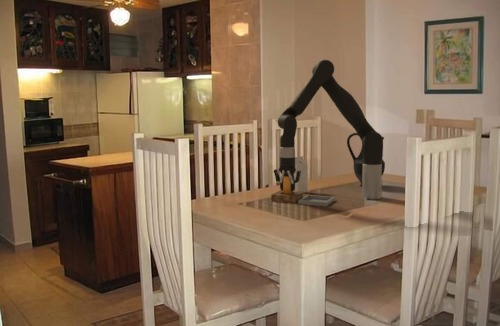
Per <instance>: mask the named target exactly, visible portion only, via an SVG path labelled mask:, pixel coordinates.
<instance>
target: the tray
mask: <svg viewBox="0 0 500 326" xmlns="http://www.w3.org/2000/svg"><path fill="white" fill-rule="evenodd" d="M335 200H336V197H335V196H327V195H316V194H315V195H314V194H307V195H305V196H303V198H302V199H300V200H298V202H297V203H298V205H306V206H307V205H308V206H318V207H327V206H329V205H330V204H332V203H334V202H335Z"/></svg>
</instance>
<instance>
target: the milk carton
mask: <svg viewBox="0 0 500 326" xmlns="http://www.w3.org/2000/svg"><path fill="white" fill-rule="evenodd" d="M295 168H296V170H299V171H300V170H301V175H300V179H299V182H297V183H295V190H294V191H299V192H303V193H308V163H307V161H306V160H305V159H304V155H303V156H295ZM294 179H296V172H295V173H294Z"/></svg>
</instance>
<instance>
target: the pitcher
mask: <svg viewBox="0 0 500 326" xmlns="http://www.w3.org/2000/svg"><path fill="white" fill-rule="evenodd" d="M354 136H358V137H359V135H358V133H357V132H353V133H351V134H349V135H348V137H347V138H346V146H347V148H348V151H349V153H350V156H351V158H352V161H353V173H354V176H355V177H356V179H357V181H359V182H360V185H359V186H360V187H361V188H362V174H363V155H364V144H363V142H362V141H361V144H362V145H361V149H360V152H359V154H358V156H356V155H355V154H354V151H353V148H352V147H351V144H350V140H351V139H352V137H354ZM382 138H383V140H384V139H385V137H384V136H382ZM385 168H386V162H385V161H384V159H383V158H382V174H381V178H382V177H383V174H384V172H385Z"/></svg>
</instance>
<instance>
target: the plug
mask: <svg viewBox="0 0 500 326" xmlns="http://www.w3.org/2000/svg"><path fill="white" fill-rule="evenodd" d="M291 184H292V183H291V180H290V178H289V177H287V176H283V194H286V195H292V191H291Z"/></svg>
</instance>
